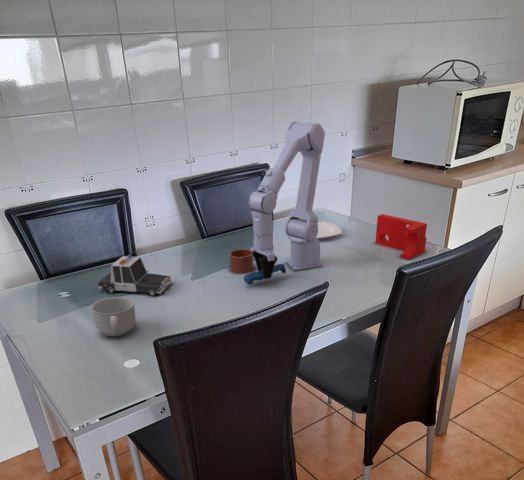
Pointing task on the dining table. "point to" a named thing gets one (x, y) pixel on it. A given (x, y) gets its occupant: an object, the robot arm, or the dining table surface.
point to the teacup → (114, 315)
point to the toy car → (133, 277)
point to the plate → (327, 230)
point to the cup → (241, 261)
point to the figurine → (259, 275)
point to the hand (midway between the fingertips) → (264, 274)
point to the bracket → (401, 235)
